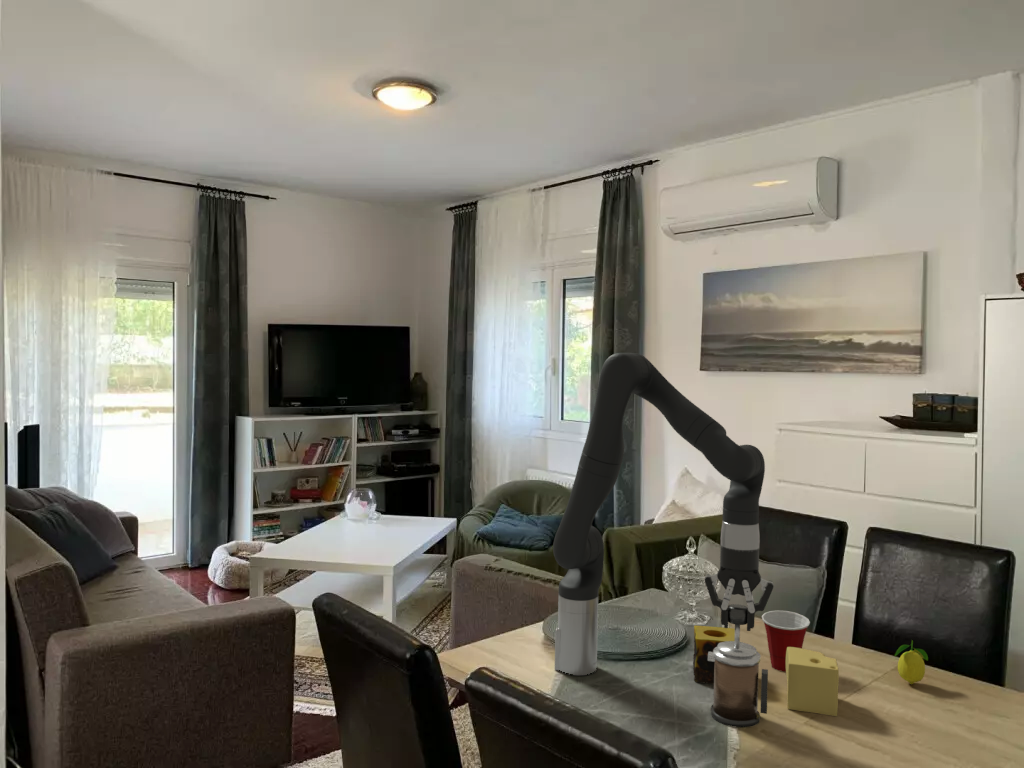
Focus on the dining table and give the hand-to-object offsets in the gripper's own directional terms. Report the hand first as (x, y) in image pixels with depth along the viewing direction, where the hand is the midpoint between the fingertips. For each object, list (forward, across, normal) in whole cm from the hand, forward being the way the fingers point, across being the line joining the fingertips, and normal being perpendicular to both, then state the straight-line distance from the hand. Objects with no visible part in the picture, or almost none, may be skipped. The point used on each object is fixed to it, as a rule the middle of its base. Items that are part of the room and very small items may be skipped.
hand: (737, 628), depth 159 cm
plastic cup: (+18, +10, +31) cm, 37 cm away
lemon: (+18, +37, +31) cm, 52 cm away
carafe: (+18, 0, 0) cm, 18 cm away
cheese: (+18, +15, +12) cm, 27 cm away
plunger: (+5, 0, 0) cm, 5 cm away
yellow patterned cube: (+18, -5, +20) cm, 28 cm away
